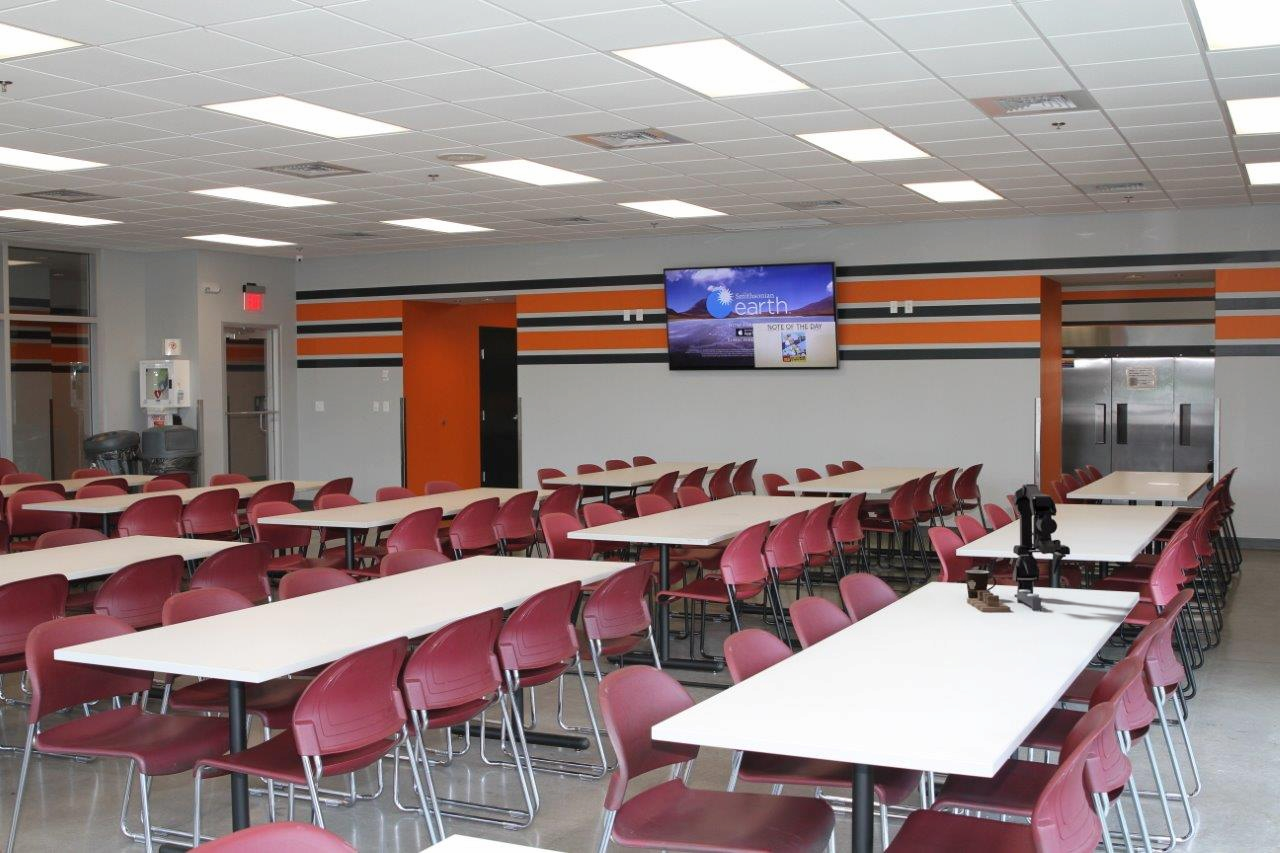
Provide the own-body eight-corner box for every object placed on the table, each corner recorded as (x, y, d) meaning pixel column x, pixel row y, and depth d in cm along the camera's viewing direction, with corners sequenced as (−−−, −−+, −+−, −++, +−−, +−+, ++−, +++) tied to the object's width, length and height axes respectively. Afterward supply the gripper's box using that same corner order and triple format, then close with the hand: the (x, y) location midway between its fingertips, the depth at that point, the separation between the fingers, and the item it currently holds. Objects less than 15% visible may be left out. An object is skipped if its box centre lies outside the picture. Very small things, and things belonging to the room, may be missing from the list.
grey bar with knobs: (1015, 602, 450) (1015, 588, 450) (1026, 602, 450) (1026, 588, 450) (1031, 610, 432) (1031, 596, 432) (1042, 610, 432) (1042, 596, 432)
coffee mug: (960, 596, 463) (960, 570, 463) (980, 595, 466) (980, 569, 465) (978, 601, 452) (978, 574, 452) (998, 600, 455) (998, 573, 454)
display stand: (967, 602, 450) (967, 589, 450) (994, 602, 450) (994, 589, 450) (982, 611, 430) (982, 597, 430) (1010, 611, 430) (1010, 597, 430)
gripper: (1023, 533, 427) (1022, 577, 428) (1075, 533, 427) (1075, 577, 428) (1012, 529, 438) (1012, 572, 439) (1064, 529, 438) (1064, 572, 439)
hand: (1041, 573), depth 436 cm, fingers open, 9 cm apart
